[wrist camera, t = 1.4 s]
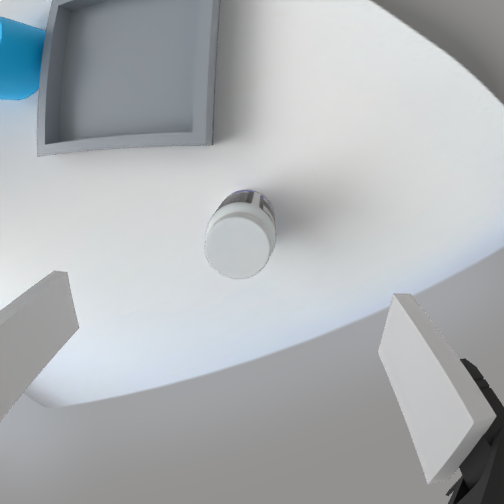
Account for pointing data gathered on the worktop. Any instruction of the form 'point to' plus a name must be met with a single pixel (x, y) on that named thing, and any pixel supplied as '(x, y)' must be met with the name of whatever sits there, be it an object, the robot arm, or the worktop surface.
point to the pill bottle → (241, 235)
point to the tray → (127, 75)
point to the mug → (19, 59)
